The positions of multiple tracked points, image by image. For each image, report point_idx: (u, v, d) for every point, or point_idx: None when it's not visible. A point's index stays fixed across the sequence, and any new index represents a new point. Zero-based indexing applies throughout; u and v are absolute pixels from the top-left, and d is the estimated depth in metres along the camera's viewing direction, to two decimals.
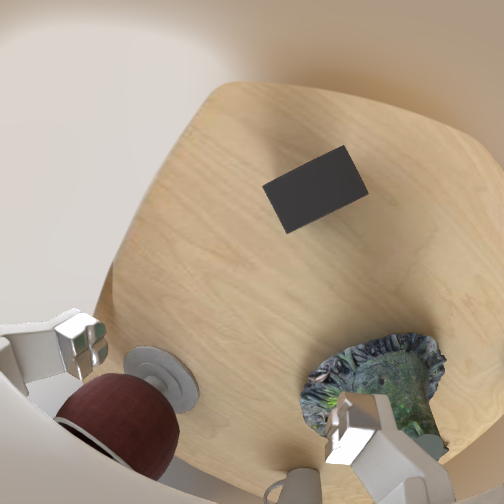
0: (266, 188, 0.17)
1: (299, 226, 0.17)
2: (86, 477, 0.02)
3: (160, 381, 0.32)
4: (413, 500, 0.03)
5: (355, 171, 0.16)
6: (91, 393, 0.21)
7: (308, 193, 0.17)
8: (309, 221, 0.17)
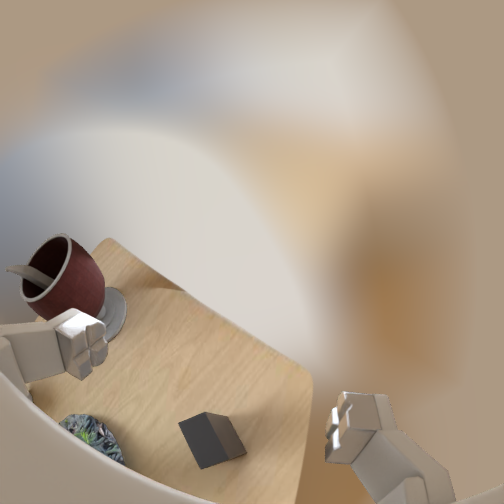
0: (203, 414, 0.25)
1: (182, 430, 0.24)
2: (86, 477, 0.02)
3: (101, 317, 0.43)
4: (413, 500, 0.03)
5: (213, 463, 0.21)
6: (89, 275, 0.35)
7: (200, 437, 0.23)
8: (184, 435, 0.23)
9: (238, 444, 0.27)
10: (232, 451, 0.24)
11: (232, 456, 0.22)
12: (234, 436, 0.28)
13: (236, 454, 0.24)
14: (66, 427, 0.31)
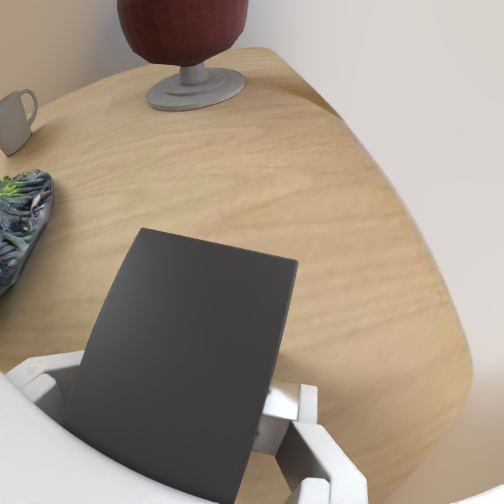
0: (283, 265, 0.05)
1: (125, 263, 0.05)
2: (86, 477, 0.02)
3: (193, 82, 0.26)
4: None
5: None
6: None
7: (166, 358, 0.04)
8: (110, 294, 0.05)
9: None
10: None
11: None
12: None
13: None
14: None
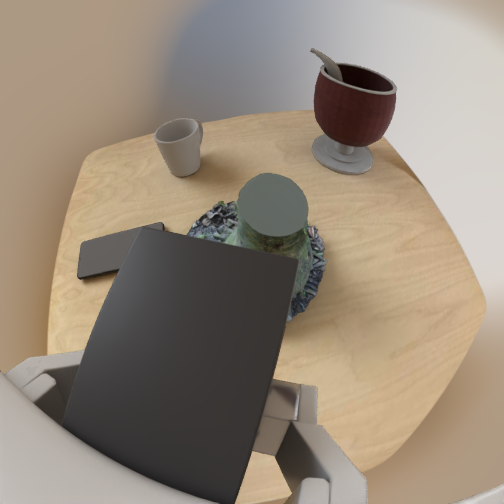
0: (284, 263, 0.05)
1: (125, 262, 0.05)
2: (86, 477, 0.02)
3: (348, 153, 0.46)
4: None
5: None
6: (392, 115, 0.35)
7: (167, 357, 0.04)
8: (111, 292, 0.05)
9: None
10: None
11: None
12: None
13: None
14: None
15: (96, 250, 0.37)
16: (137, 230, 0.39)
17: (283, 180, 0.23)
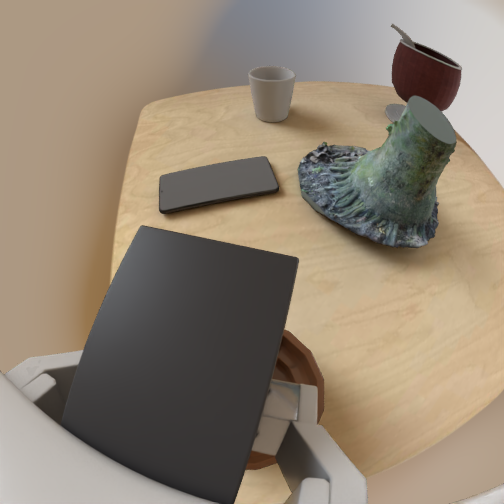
0: (283, 262, 0.05)
1: (124, 261, 0.05)
2: (86, 477, 0.02)
3: None
4: None
5: None
6: None
7: (166, 357, 0.04)
8: (110, 291, 0.05)
9: None
10: None
11: None
12: None
13: None
14: (350, 151, 0.36)
15: (184, 181, 0.34)
16: (237, 162, 0.35)
17: (431, 105, 0.19)
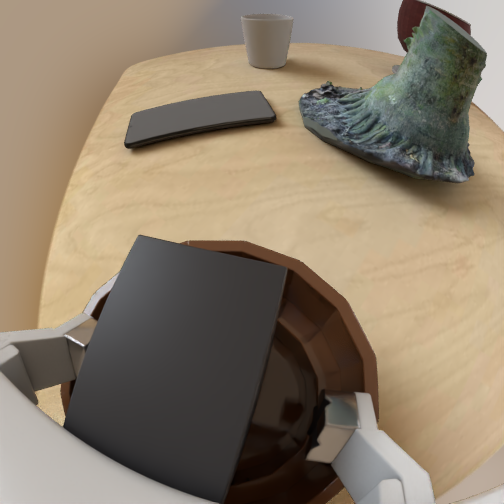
0: (272, 271, 0.05)
1: (123, 269, 0.05)
2: (86, 477, 0.02)
3: None
4: (388, 503, 0.03)
5: None
6: None
7: (162, 359, 0.04)
8: (110, 298, 0.05)
9: (245, 440, 0.09)
10: (230, 484, 0.05)
11: None
12: (253, 413, 0.10)
13: None
14: None
15: (159, 115, 0.25)
16: (224, 95, 0.26)
17: (451, 20, 0.11)
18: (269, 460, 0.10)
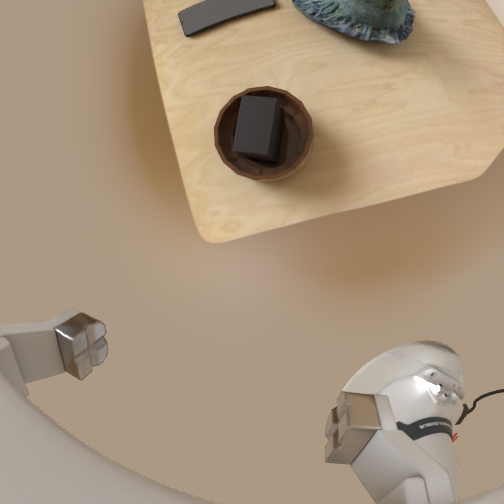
0: (273, 99, 0.23)
1: (241, 103, 0.24)
2: (86, 477, 0.02)
3: None
4: (413, 500, 0.03)
5: (248, 151, 0.25)
6: None
7: (255, 118, 0.24)
8: (240, 110, 0.24)
9: (277, 151, 0.31)
10: (272, 151, 0.27)
11: (269, 155, 0.26)
12: (279, 141, 0.31)
13: (272, 157, 0.28)
14: None
15: (199, 11, 0.29)
16: None
17: None
18: None
